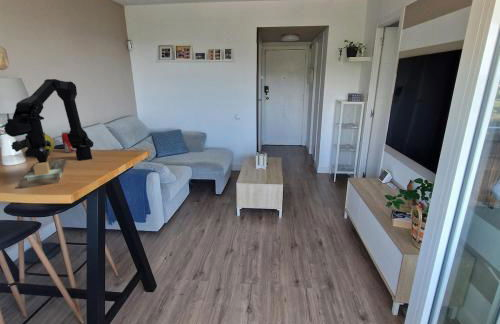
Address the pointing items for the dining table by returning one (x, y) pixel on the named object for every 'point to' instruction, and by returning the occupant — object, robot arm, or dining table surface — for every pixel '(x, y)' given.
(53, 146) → the sculpture
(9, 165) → the dining table surface
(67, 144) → the soda can
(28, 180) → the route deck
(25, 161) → the dining table surface
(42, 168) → the block
